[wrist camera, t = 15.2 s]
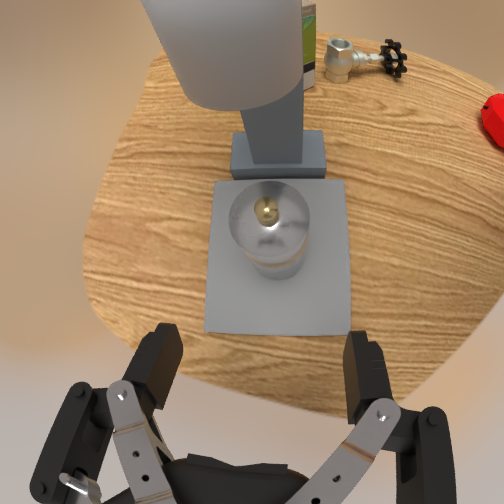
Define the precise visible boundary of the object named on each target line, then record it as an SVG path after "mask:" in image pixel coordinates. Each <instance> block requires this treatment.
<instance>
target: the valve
mask: <svg viewBox="0 0 504 504" xmlns="http://www.w3.org/2000/svg"><path fill="white" fill-rule="evenodd" d="M385 43H388V46H386V45H382V46H381V53H380V54H379V56H378V55H377V54H376V53H367V55H366V54H364V53H363V52H362V51H361V50H353V51H352V47H353V43H352V42H350V41H349V40H347V39H344V38H339V37H334V38H329V40H328V44H327V52H326V53H325V56H324V63H325V66H326V75H325V77H326V78H327V79H329V80H330V81H332V82H334V83H345V82H347V81H348V75H349V71H350V70H351V69H352V67H355V68H357V69H360V68H364V67H365V65H366V64H367V63H369V64H378V63H379V62H381V63H382V65H383V67H384V68H385V69H386V72H387V73H388V74H394V72H395V75H393V77H394V78H401V73H406V72H407V68H406V66H404V65H403V60H407V55H406V54H405V53H401V52H400V49H401V44H400V43H399V42H393V40H392V39H386V40H385ZM391 49H393V50H394V51H395V52H396V54H397V56H398V59H397V56H396V54H393V53H390V51H391ZM397 62H398V66H397V67H396V68H395V67H394V66H393V65H392V64H396V63H397Z"/></svg>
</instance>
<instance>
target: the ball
mask: <svg viewBox="0 0 504 504" xmlns="http://www.w3.org/2000/svg"><path fill="white" fill-rule="evenodd" d="M481 114H482V120H483V126H484V128H485V130H486V131H487V132H488V133H489V135H490V136H491V137H492V138H493V140H494V141H495V142H496V144H497V145H498V146H499V147H503V148H504V94H499V93H498V94H495V95H493V96H491V97H489V98H488V100H487V101H486V103H485V104H484V106H483V108H482V109H481Z"/></svg>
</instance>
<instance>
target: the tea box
mask: <svg viewBox="0 0 504 504" xmlns="http://www.w3.org/2000/svg"><path fill="white" fill-rule="evenodd" d="M302 23H303V70H304V90H306V89H308V88H310V87H312V86H314V80H315V51H316V4H315V3H313V2H311V1H309V0H302Z"/></svg>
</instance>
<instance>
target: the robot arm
mask: <svg viewBox="0 0 504 504" xmlns="http://www.w3.org/2000/svg"><path fill="white" fill-rule="evenodd" d="M182 355H183V344H182V341H181V338H180V335H179V332H178V329H177V326H176V325H175V324H171V323H159V324H158V326H157V328H156V330H155V332H149V333H148V334H147V335H146V336H145V337H144V338H143V339H142V340H141V342H140V344H139V346H138V349H137V350H136V352H135V355H134V356H133V358H132V360H131V362H130V364H129V366H128V368H127V370H126V372H125V374H124V376H123V378H122V380H119V381H116V382H114V383H112V384H111V385H110V386H109V388H97V389H92V387H91V386H90V385H89V384H88V383H86V382H78V383H76V384H74V385H73V386H72V387H71V388H70V390H69V392H68V393H67V396H66V398H65V400H64V402H63V404H62V406H61V408H60V410H59V412H58V415H57V417H56V419H55V421H54V424H53V426H52V428H51V430H50V433H49V435H48V437H47V440H46V442H45V444H44V447H43V450H42V452H41V455H40V457H39V460H38V463H37V465H36V468H35V471H34V473H33V476H32V479H31V482H30V492H31V495H32V497H33V498H34V499H35V500H36V501H37V502H39V503H41V504H341V502H342V501H343V500H344V499H345V498H346V497H347V496H348V494H349V493H350V492H351V491H352V489H353V488H354V487H355V486H356V484H357V483H358V482H359V480H360V479H361V478H362V477H363V475H364V474H365V473H366V471H367V470H368V469H369V467H370V466H371V464H372V463H373V461H374V459H375V457H376V455H377V453H378V452H379V451H380V449H381V450H387V451H393V452H396V473H397V474H396V479H397V494H396V504H457V499H456V483H455V469H454V461H453V453H452V446H451V438H450V432H449V426H448V421H447V417H446V414H445V412H444V411H443V410H442V409H440V408H438V407H434V406H432V407H427V408H425V409H424V410H423V411H422V412H418V411H412V410H406V409H403V408H401V407H400V406H399V405H398V404H397V403H396V402H395V401H394V399H393V397H392V393H391V388H390V383H389V378H388V373H387V369H386V364H385V361H384V356H383V351H382V349H381V348H380V346H379V345H378V344H377V342H376V341H372V342H368V339H367V334H366V331H365V330H361V331H349V332H348V336H347V340H346V344H345V348H344V352H343V370H344V379H345V390H346V402H347V415H348V424H355V428H354V429H353V430H352V432H351V433H350V434H349V436H348V437H347V438H346V439H345V440H344V441H343V442H342V443H341V444H340V446H339V447H338V448H337V449H336V450H335V451H334V453H333V454H332V455H331V456H330V457H329V458H328V460H327V461H326V462H325V463H324V464H323V465H322V466H321V468H320V469H319V470H318V471H317V472H316V473H315V474H314V475H313V476H312V477H311V478H310V479H309V478H307V477H306V476H304V475H302V474H300V473H299V472H296V471H293V470H290V469H287V466H288V465H287V464H266V463H261V464H254V465H246V466H233V465H230V464H227V463H224V462H222V461H219V460H217V459H214V458H212V457H206V456H200V455H195V454H188V456H187V458H183V459H177V460H174V458H173V456H172V454H171V453H170V451H169V449H168V448H167V446H166V444H165V442H164V440H163V437H162V435H161V433H160V430H159V428H158V425H157V423H156V421H155V418H154V416H153V412H154V409H160V410H163V408H164V405H165V402H166V399H167V396H168V393H169V391H170V388H171V385H172V383H173V380H174V377H175V375H176V372H177V369H178V366H179V364H180V361H181V358H182ZM114 427H115V432H113V429H114ZM112 433H113V440H114V443H115V446H116V449H117V453H118V456H119V459H120V462H121V465H122V467H123V470H124V473H125V476H126V479H127V481H128V484H129V486H130V487H129V488H128V489H126V490H124V491H122V492H121V493H119V494H117V495H116V496H114V497H112V498H111V499H109V500H107V501H105V502H104V503H101V501H100V498H101V496H102V495H101V492H100V487H99V485H98V484H97V478H98V475H99V472H100V469H101V466H102V462H103V459H104V456H105V453H106V450H107V447H108V444H109V441H110V438H111V435H112Z"/></svg>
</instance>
